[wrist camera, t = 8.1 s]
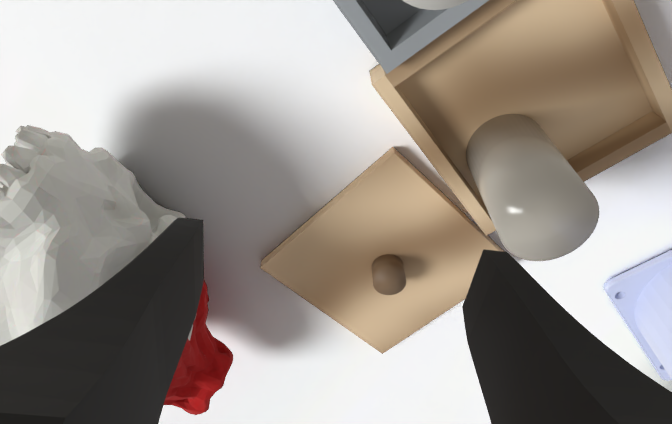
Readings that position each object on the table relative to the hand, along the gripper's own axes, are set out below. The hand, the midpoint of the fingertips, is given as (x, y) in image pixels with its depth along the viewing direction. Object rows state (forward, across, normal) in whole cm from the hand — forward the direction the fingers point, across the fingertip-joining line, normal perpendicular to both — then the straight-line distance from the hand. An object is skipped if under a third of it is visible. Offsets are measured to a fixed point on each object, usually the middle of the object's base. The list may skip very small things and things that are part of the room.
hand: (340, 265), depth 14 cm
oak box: (+10, -7, -2) cm, 13 cm away
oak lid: (+10, -4, +8) cm, 13 cm away
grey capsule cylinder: (+10, -7, +1) cm, 12 cm away
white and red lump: (+11, +9, +9) cm, 17 cm away
